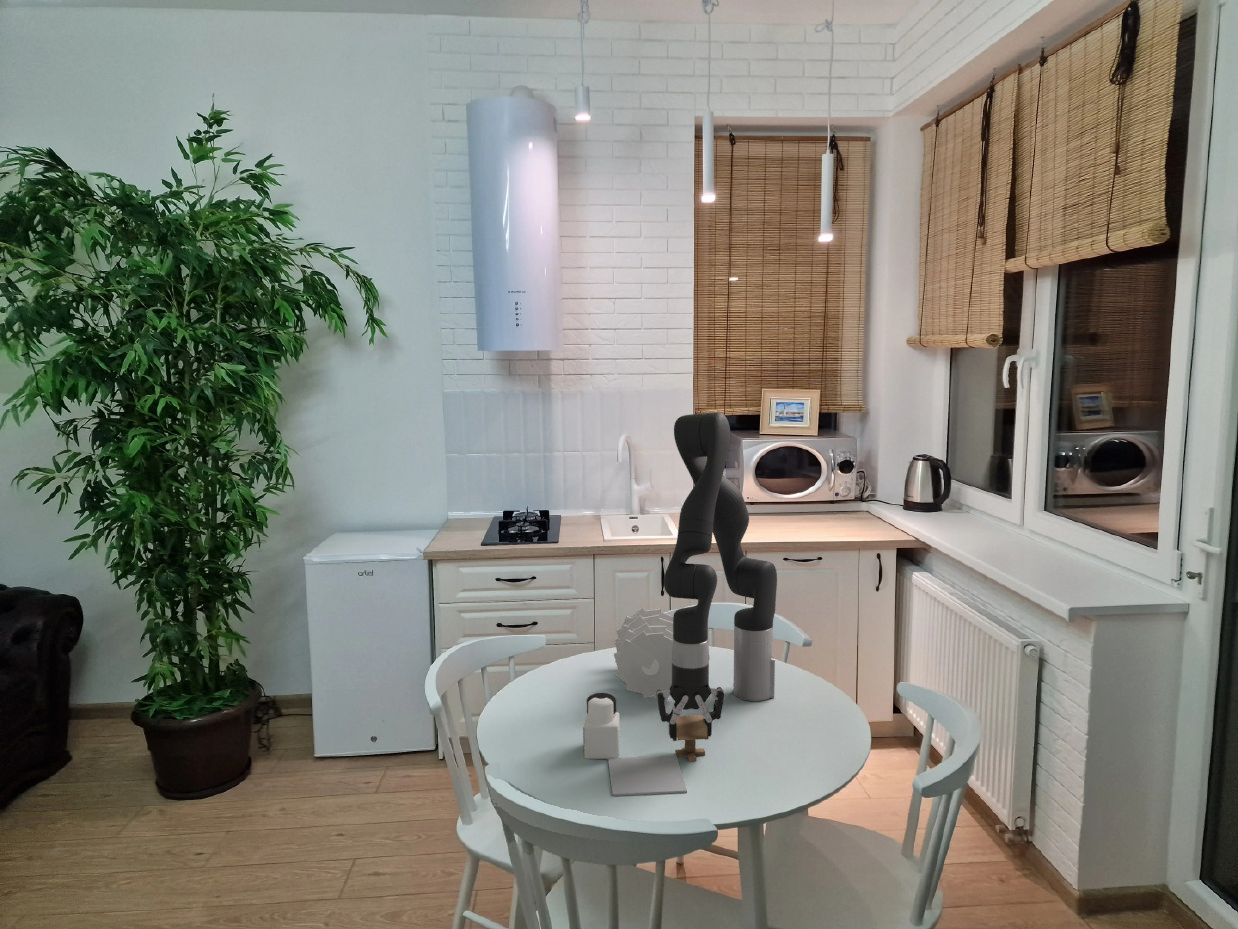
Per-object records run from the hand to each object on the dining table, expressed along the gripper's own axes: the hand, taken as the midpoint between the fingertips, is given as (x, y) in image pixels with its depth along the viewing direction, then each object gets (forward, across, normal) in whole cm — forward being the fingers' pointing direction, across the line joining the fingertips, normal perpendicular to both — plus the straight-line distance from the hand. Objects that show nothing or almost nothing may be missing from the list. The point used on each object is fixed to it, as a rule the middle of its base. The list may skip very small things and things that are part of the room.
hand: (690, 738), depth 172 cm
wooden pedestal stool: (+3, 0, 0) cm, 3 cm away
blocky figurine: (+4, +18, -3) cm, 19 cm away
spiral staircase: (+4, +4, -38) cm, 38 cm away
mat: (+3, +10, +8) cm, 13 cm away
